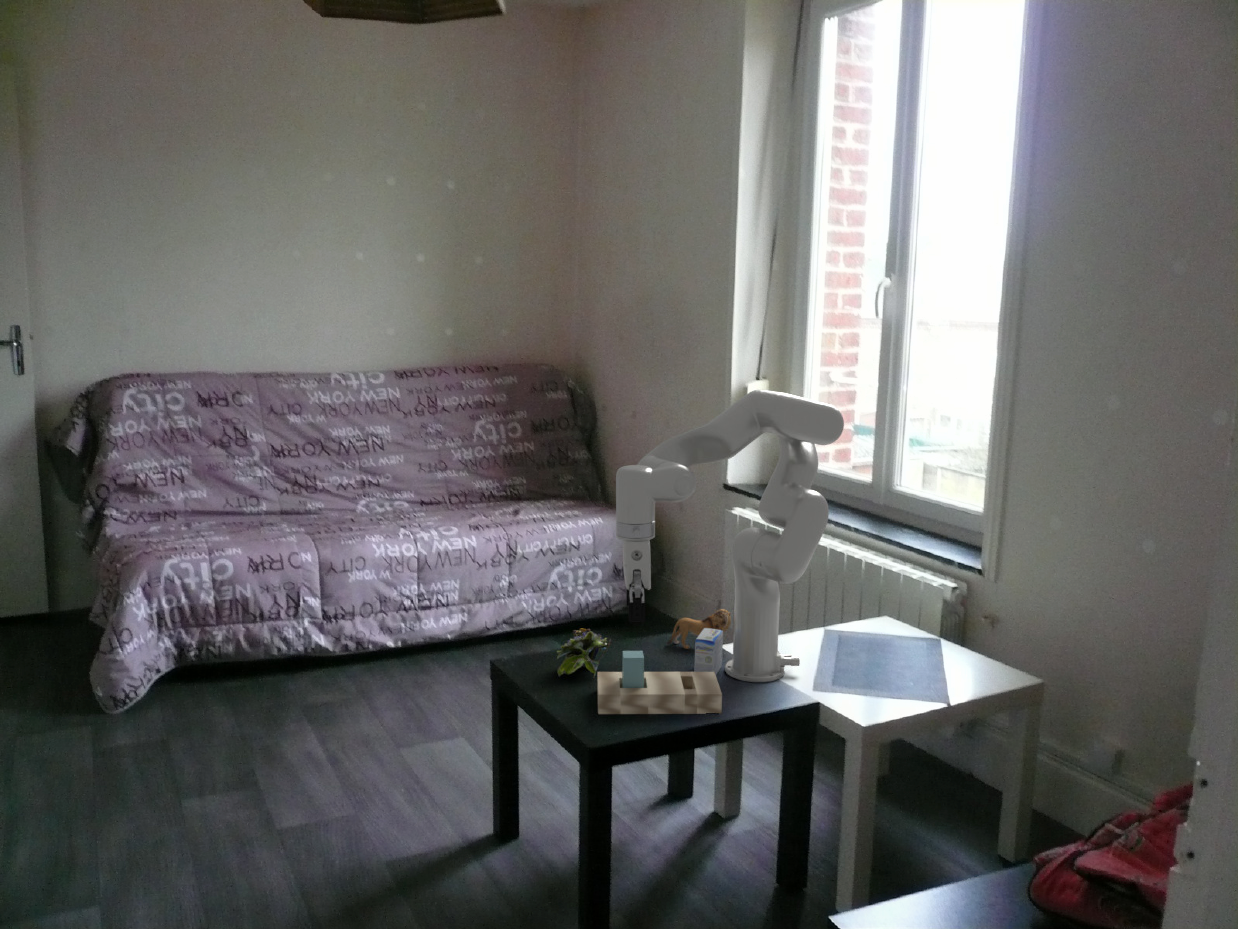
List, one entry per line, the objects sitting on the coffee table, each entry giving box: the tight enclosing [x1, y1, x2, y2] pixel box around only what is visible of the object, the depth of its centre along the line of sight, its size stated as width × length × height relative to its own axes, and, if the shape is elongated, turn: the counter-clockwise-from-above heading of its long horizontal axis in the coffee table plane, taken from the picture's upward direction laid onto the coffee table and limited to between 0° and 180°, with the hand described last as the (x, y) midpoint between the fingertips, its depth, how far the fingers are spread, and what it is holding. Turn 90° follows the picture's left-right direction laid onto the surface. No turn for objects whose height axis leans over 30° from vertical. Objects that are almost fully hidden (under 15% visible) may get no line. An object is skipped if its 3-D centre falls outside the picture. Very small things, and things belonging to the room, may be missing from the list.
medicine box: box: [693, 628, 724, 676], centre depth 230 cm, size 8×4×9 cm, turn 162°
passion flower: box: [556, 628, 612, 679], centre depth 229 cm, size 11×11×12 cm
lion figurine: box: [666, 608, 732, 650], centre depth 246 cm, size 15×5×9 cm, turn 90°
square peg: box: [621, 650, 645, 688], centre depth 213 cm, size 4×4×10 cm
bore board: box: [596, 671, 723, 715], centre depth 214 cm, size 24×12×4 cm, turn 92°
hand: (635, 613), depth 211 cm, fingers open, 9 cm apart
